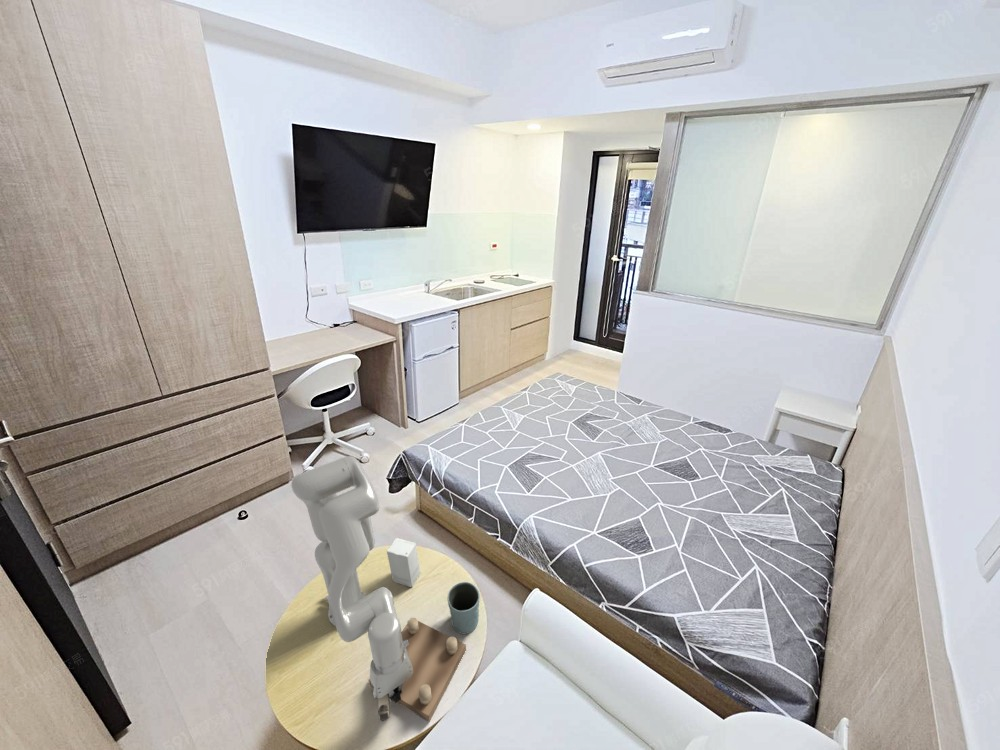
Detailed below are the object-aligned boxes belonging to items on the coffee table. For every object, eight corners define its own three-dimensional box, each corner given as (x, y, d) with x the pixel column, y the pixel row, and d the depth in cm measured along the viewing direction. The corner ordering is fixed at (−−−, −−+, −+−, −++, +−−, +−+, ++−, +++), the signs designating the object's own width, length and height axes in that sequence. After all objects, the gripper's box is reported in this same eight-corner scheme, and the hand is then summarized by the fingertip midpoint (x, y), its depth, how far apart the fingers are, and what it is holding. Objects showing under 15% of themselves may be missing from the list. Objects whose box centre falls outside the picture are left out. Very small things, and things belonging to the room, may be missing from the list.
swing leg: (378, 669, 115) (377, 664, 114) (389, 666, 116) (388, 661, 115) (378, 723, 104) (376, 717, 103) (390, 719, 104) (389, 713, 103)
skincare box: (420, 573, 147) (417, 542, 141) (411, 589, 142) (407, 557, 135) (400, 567, 150) (396, 536, 143) (391, 582, 144) (386, 550, 138)
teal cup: (475, 639, 126) (474, 614, 121) (444, 632, 128) (442, 607, 123) (483, 609, 135) (482, 584, 130) (454, 603, 137) (453, 579, 132)
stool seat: (370, 686, 114) (367, 672, 111) (412, 623, 131) (410, 610, 128) (429, 722, 107) (427, 708, 104) (466, 650, 123) (465, 637, 120)
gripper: (410, 626, 107) (415, 666, 115) (354, 661, 99) (363, 702, 107) (422, 650, 102) (427, 690, 110) (364, 689, 94) (374, 730, 102)
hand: (396, 696), depth 109 cm, fingers closed
